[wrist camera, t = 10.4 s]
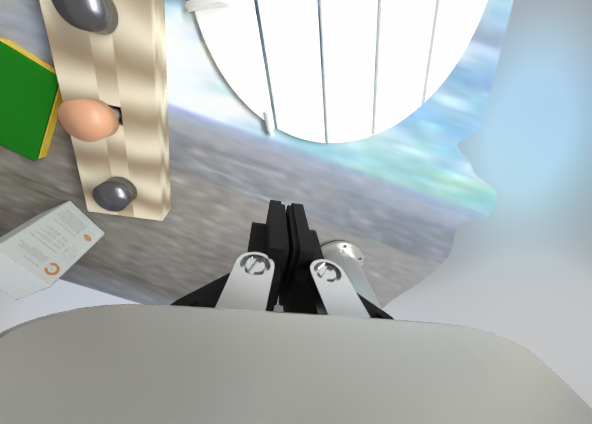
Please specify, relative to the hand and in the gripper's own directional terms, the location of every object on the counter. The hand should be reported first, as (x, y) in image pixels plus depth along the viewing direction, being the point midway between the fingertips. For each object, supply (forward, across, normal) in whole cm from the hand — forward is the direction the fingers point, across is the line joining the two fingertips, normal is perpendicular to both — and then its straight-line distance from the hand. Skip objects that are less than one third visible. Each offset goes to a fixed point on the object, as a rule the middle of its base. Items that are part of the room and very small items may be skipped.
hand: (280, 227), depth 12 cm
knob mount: (+29, +22, +1) cm, 36 cm away
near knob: (+28, +22, -10) cm, 37 cm away
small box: (+30, +33, +23) cm, 50 cm away
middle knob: (+26, +22, +1) cm, 34 cm away
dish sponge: (+29, +35, +3) cm, 46 cm away
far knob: (+29, +22, +12) cm, 38 cm away
